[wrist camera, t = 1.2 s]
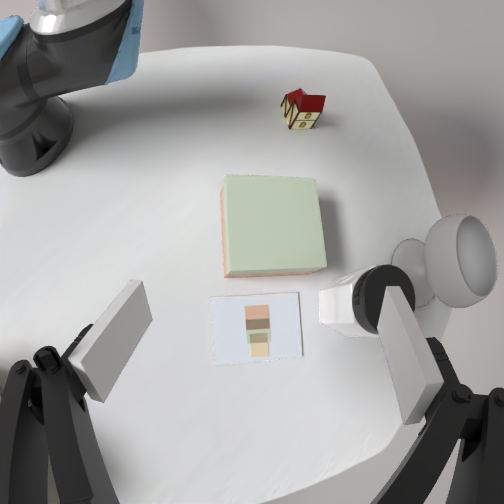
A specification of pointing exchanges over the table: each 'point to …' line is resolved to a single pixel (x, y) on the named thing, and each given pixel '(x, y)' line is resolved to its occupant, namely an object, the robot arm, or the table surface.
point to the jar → (361, 299)
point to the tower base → (271, 226)
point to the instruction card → (255, 328)
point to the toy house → (302, 109)
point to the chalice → (451, 262)
